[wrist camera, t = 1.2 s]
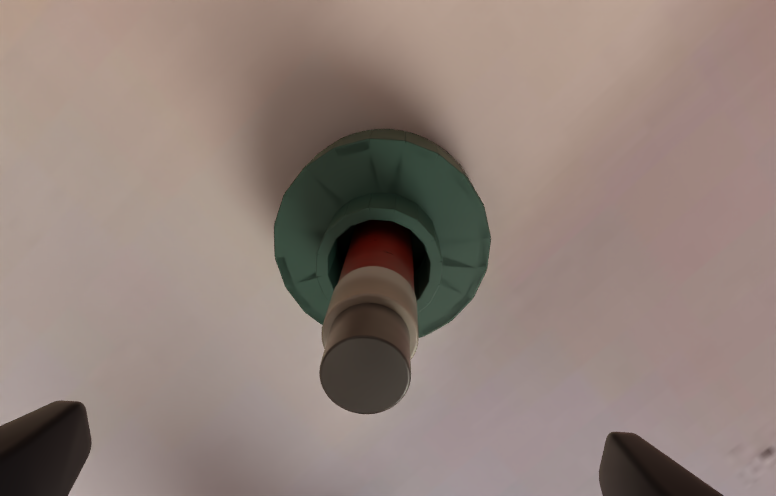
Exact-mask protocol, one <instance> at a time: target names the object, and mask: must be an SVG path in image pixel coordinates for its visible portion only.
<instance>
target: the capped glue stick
mask: <svg viewBox="0 0 776 496" xmlns="http://www.w3.org/2000/svg"><path fill="white" fill-rule="evenodd" d="M322 342H323V346H324V349H325V350H324V354H323V357H322V361H321V365H320V372H319V373H320V381H321V384H322V387H323V389H324V391H325V393H326V394H327V395H328V397H329V398H330V399H331V400H332V401H333V402H334V403H335V404H337V405H338V406H340V407H341V408H343V409H345V410H348V411H350V412H354V413H359V414H374V413H379V412H382V411H385V410H387V409H390V408H391V407H393V406H394V405H396V404H397V403H398V402H399V401H400V400H401V399H402V398H403V397H404V395H405V394H406V392H407V390H408V388H409V385H410V380H411V359H412V357H413V356H414V354H415V352H416V349H417V346H418V316H417V301H416V296H415V292H414V269H413V246H412V231H411V230H410V229H408V228H406V227H404V226H401V225H399V224H397V223H395V222H393V221H385V220H368V221H365V222H362V223H359V224H356V226H355V229H354V232H353V236H352V239H351V242H350V245H349V249H348V252H347V255H346V258H345V262H344V265H343V268H342V271H341V275H340V278H339V281H338V284H337V285H336V287H335V289H334V291H333V294H332V297H331V300H330V304H329V307H328V310H327V313H326V316H325V319H324V322H323V327H322Z"/></svg>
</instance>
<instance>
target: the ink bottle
mask: <svg viewBox="0 0 776 496" xmlns="http://www.w3.org/2000/svg"><path fill="white" fill-rule="evenodd" d="M368 220H385V221H393V222H395V223H397V224H399V225H401V226H404V227H406V228H408V229H410V230H411V231H412V246H413V269H414V292H415V296H416V301H417V316H418V338H420V337H423V336H425V335H427V334H429V333H431V332H433V331H435V330H436V329H438V328H440V327H442V326H444V325H445V324H447V323H449V322H450V321H452V320H453V319H454V318H455V317H456V316H457V315H458V314H459V313H460V312H461V311H462V309H463V308H464V307H465V306H466V305H467V304H468V303H469V302H470V301H471V300H472V298H474V296H475V294H476V291H477V289H478V287H479V285H480V283H481V281H482V279H483V277H484V275H485V273H486V270H487V265H488V258H489V250H490V242H491V239H490V238H491V236H490V231H489V227H488V222H487V217H486V212H485V208H484V206H483V203H482V201H481V200H480V198H479V196H478V194H477V192H476V191H475V189H474V187H473V186H472V184H471V182H470V181H469V179H468V177H467V176H466V174H465V172H464V171H463V169H462V167H461V166H460V164H459V163H458V162H457V161H456V160H455V159H453V158H452V157H451V156H450V155H449V153H447V152H446V151H445V150H443V149H442V148H441V147H440V146H438V145H437V144H435V143H434V142H432V141H430V140H428V139H426V138H424V137H421V136H419V135H416V134H413V133H410V132H406V131H402V130H394V129H374V130H367V131H362V132H358V133H355V134H351V135H349V136H346V137H343V138H341V139H340V140H338V141H336V142H335V143H333V144H332V145H330V146H328V147H327V148H326V149H325V150H323V151H322V152H320V153H319V154H317V155H316V156H315V157H314V158H313V159H312V160H311V161H310V162H309V163H308V164H307V165H306V166H305V167H304V168H303V170H302V171H301V172H300V174H299V175H298V176H297V178H296V179H295V180H294V182H293V183H292V184H291V186H290V187H289V188H288V189H287V191H286V192H285V194H284V196H283V199H282V202H281V205H280V208H279V211H278V214H277V218H276V221H275V225H274V246H275V259H276V262H277V265H278V268H279V270H280V273H281V276H282V279H283V282H284V284H285V287H286V288H287V290H288V291H289V292H290V294H291V295H292V296H293V298H294V299H295V300H296V301H297V303H298V304H299V305H300V307H301V308H302V309H303V311H304V312H305V313H306V314H308V315H309V316H311V317H312V318H313V319H315V320H316V321H317V322H319V323H320V324H322V325H323V322H324V319H325V316H326V313H327V310H328V307H329V304H330V300H331V297H332V294H333V291H334V289H335V287H336V285H337V284H338V281H339V278H340V275H341V271H342V268H343V265H344V262H345V258H346V255H347V252H348V249H349V245H350V242H351V239H352V236H353V232H354V229H355V226H356V224H359V223H362V222H365V221H368Z"/></svg>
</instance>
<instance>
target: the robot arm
mask: <svg viewBox="0 0 776 496" xmlns="http://www.w3.org/2000/svg"><path fill="white" fill-rule="evenodd" d="M90 450H91V434H90V429H89V423H88V418H87V412H86V408H85V406H84V404H83V403H81V402H78V401H55V402H53V403H50V404H48V405H46V406H44V407H42V408H39V409H37V410H35V411H33V412H31V413H28V414H26V415H24V416H22V417H20V418H17V419H15V420H13V421H11V422H9V423H6V424H4V425H2V426H0V496H68V494H69V492H70V490H71V488H72V486H73V485H74V483H75V481H76V479H77V477H78V475H79V473H80V471H81V469H82V467H83V465H84V463H85V462H86V460H87V458H88V456H89V453H90ZM599 482H600V487H601V490H602V494H603V496H723V495H722V494H720V493H719V492H718V491H716V490H715V489H713V488H712V487H710V486H709V485H708V484H706V483H705V482H703V481H702V480H701V479H699V478H698V477H696V476H695V475H693V474H692V473H691V472H689V471H688V470H686V469H685V468H684V467H682V466H681V465H679V464H678V463H676V462H675V461H674V460H672V459H671V458H669V457H668V456H666V455H665V454H664V453H662V452H661V451H659V450H658V449H657V448H655V447H654V446H652V445H651V444H649V443H648V442H647V441H645V440H644V439H642V438H641V437H640V436H638V435H636V434H634V433H626V432H611V433H610V434H609V435H608V436H607V438H606V442H605V446H604V451H603V455H602V460H601V464H600V469H599Z"/></svg>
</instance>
